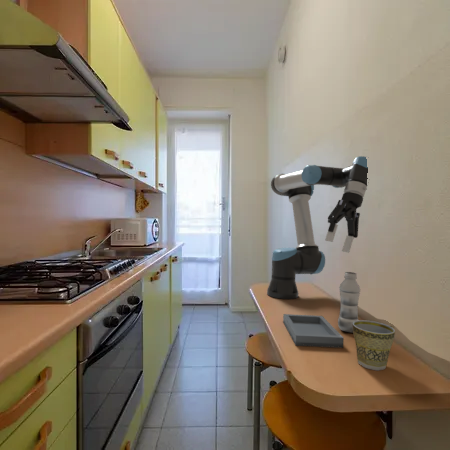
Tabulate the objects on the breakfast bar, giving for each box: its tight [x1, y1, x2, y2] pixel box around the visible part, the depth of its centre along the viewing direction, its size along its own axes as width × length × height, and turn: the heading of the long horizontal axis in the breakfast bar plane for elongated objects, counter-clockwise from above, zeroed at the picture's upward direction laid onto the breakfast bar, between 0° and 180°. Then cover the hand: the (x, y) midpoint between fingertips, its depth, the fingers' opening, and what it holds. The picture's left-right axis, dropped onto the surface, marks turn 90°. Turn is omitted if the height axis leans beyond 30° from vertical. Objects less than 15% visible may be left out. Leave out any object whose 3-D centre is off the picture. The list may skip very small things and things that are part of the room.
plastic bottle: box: [337, 271, 361, 333], centre depth 101 cm, size 6×7×20 cm
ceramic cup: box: [352, 319, 396, 371], centre depth 79 cm, size 13×10×10 cm
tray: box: [282, 313, 345, 349], centre depth 98 cm, size 20×14×3 cm
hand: (337, 246), depth 113 cm, fingers open, 13 cm apart
